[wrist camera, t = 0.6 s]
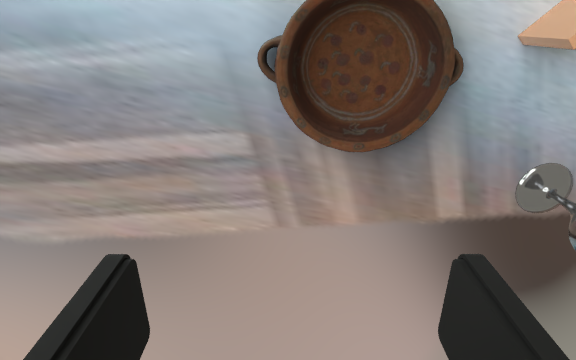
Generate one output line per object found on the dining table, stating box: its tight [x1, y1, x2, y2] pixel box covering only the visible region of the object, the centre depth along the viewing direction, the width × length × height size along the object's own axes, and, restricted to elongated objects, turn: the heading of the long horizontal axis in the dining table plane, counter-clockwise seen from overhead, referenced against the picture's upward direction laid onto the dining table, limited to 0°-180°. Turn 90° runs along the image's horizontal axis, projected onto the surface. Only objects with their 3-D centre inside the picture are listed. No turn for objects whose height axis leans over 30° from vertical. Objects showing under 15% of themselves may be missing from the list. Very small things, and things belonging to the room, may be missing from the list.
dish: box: [258, 0, 463, 152], centre depth 39 cm, size 18×22×5 cm
